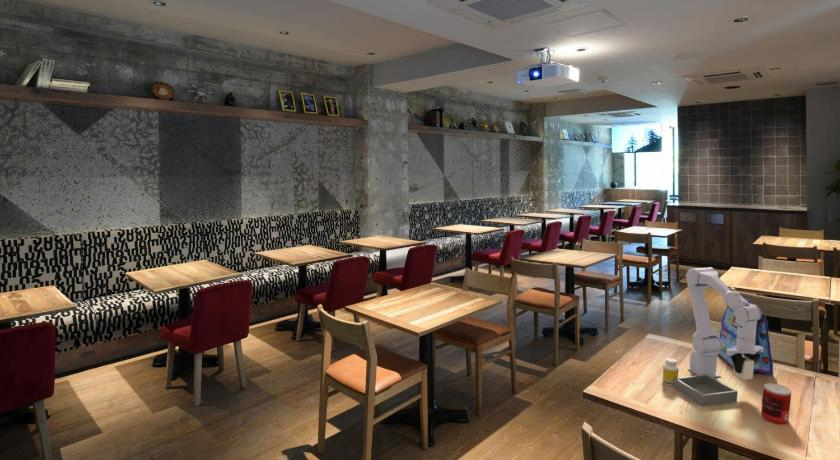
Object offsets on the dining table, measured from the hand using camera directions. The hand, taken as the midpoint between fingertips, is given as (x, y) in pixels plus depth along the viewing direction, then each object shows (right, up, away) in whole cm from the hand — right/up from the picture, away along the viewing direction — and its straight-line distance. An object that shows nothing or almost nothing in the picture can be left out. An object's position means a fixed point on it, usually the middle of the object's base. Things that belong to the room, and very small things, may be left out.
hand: (743, 371), depth 182 cm
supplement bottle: (-22, -8, +11) cm, 26 cm away
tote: (-14, -9, +1) cm, 17 cm away
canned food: (0, -12, -16) cm, 20 cm away
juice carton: (0, -2, 0) cm, 2 cm away
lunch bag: (+19, -5, +28) cm, 34 cm away
